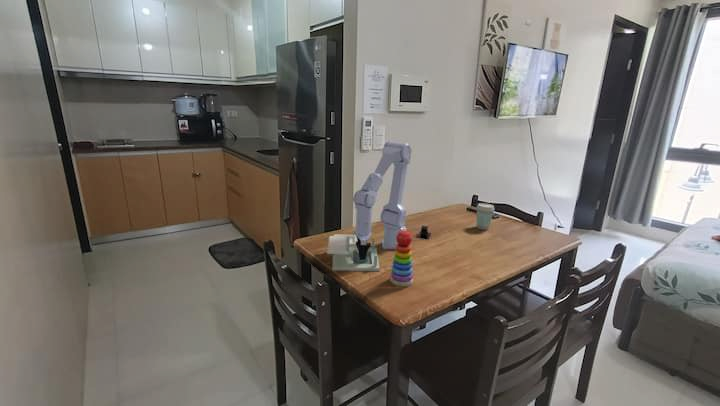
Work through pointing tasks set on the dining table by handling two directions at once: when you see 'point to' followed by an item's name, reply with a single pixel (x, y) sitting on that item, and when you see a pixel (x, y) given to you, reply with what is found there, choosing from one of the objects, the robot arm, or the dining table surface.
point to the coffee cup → (484, 215)
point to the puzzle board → (351, 262)
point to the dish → (352, 239)
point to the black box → (424, 233)
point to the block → (359, 258)
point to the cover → (338, 245)
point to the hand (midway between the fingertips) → (362, 255)
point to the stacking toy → (402, 261)
